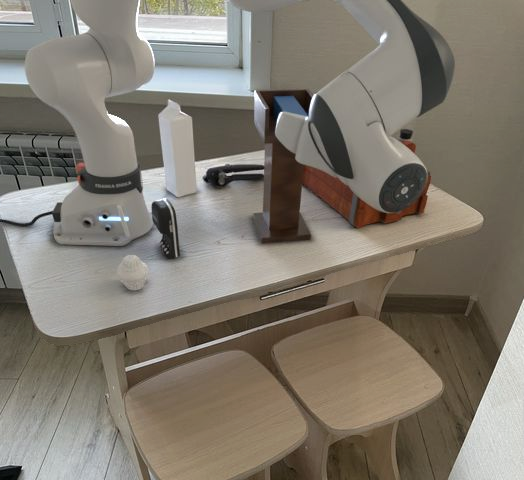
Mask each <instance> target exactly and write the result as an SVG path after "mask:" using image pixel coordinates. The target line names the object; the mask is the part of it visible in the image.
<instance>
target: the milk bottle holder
mask: <svg viewBox="0 0 524 480" xmlns="http://www.w3.org/2000/svg"><path fill="white" fill-rule="evenodd" d="M413 134H414V131H413V130H412V129H409V128H403V129H402V128H401V129H399V136H398V137H397V138H396V137H395V136H392V135H391V137H393V138H395V139H397V140H398V141H400V142H401V143H402V144H404V145H405V146H406V147H407V148H409V149H410V150H411V151H412V152H413V153H414V154H415V153H416V149H417V148H416V147H417V146H416V144H415V143H414V142H412V141H413V137H412V136H413ZM431 180H432V176H431V172H430V171H429V170H427V183H426V186H425V188H424V190H423V192H422V193H421V195H420V196H419V197H418V198H417V200H415V201H414V202H413V203H412V204H411V205H409V206H408V207H406V208H405V209H403V210H401V211H399V212H396V213H384V212H381V211H379V210H377V209H375V208H373V207H371V206H370V205H368V204H367V203H365V202H364V201H363V200H361V199H360V198H359V197H358V196H357V195H356V194H355V193H354V192H353V191H352V190H351V189H350V187H349V186H348V185H346V184H344V183H343V182H342V181H341V180H340V179H339V178H335V177H333V176H331V175H330V174H328V173H326V172H324V171H322V170H318V169H316V168H313V167H309V166H306V165H304V168H303V179H302V185H304V186H306V187H307V188H308V189H309V190H310V191H312V192H313V193H314V194H315V195H317V196H318V197H319V198H320V199H322V200H323V201H324V202H325V203H327V204H328V205H329V206H330V207H331V208H333V209H334V210H335V211H336V212H338V214H340V215H341V216H343V217H344V219H346V220H347V221H348V223H349V224H350V225H352V226H353V227H355V228H357V229H360V228H364V226H366V225H371V224H375V223H379V222H382V223H383V224H388V223H393V222H396V221H397V222H398V221H401V220H402V219H403V217H404V216H409V215H413V214H416V213H417V214H423V213H424V212H425V209H426V206H427V203H428V197H429V195H427V194H428V190H429V187H430V185H431Z"/></svg>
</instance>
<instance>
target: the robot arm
mask: <svg viewBox="0 0 524 480" xmlns="http://www.w3.org/2000/svg"><path fill="white" fill-rule="evenodd" d="M69 1H70V4H71V7H72V9H73V11H74V13H75V15H76V17H77V18H78V19H79V20H80V21H81V22H82V23H83V24H84V25H85V26H87V27H88V30H87V31H86V32H83V33H81V34H79V33H78V34H73V35H67V36H66V35H65V36H61V37H53V38H50V39H47V40H46V41H43V42H40V43H39V44H37V45H34V46H33V47H31V48H29V49H28V50H27V53H26V55H25V59H24V72H25V78H26V80H27V83H28V86H29V87H30V89H31V91H32V92H33V93H34V95H35V96H36V97H37V98H38V99H39V100H40V101H41V102H42V103H44V104H45V105H47V106H48V107H50V108H52V109H54V110H55V111H57V112H58V113H60V114H61V115H62V116H63V117H64V118H65V119H66V120H67V122H68V123H69V124H70V126H71V127H72V130H73V131H74V133H75V136H76V138H77V141H78V145H79V149H80V152H81V156H82V160H83V162H78V163H77V164H76V169H75V170H76V171H75V172H76V178H77V182H78V185H77V186H76V187H75V188H74V189H72V191H71V192H69V193H68V194H67V195H66V196H65V197H64V198H63V200H62V202H61V201H60V202H56V204H55V206H54V208H53V210H51V211H46V212H42V213H40V214H38V215H36V216H35V217H34V218H32V219H31V221H30V222H25V223H22V222H15V221H12V220H8V219H3V218H0V223H2V224H3V223H4V224H8V225H11V226H18V227H23V228H24V227H30V226H33V225H34V224H35V223H36V222H37V221H38V220H39V219H41V218H44V217H47V216H51V215H52V218H53V222H54V224H53V228H52V232H53V238H54V240H55V242H56V243H58V244H59V245H73V246H75V245H76V246H105V247H107V246H108V247H124V246H127V245H128V244H129V243H130V242H132V241H133V240H135V239H138V238H139V237H142V236H144V235H145V234H147V233H148V232H149V231H150V230H151V229H152V228H153V225H154V223H153V220H152V215H151V214H150V212H149V209H148V206H147V204H146V200H145V196H144V192H143V190H144V181H143V176H142V170H141V166H140V164H139V162H138V159H137V152H136V144H135V138H134V132H133V130H132V129H131V127H130V125H128V124H127V122H126V121H125V120H123V119H121V118H120V117H117V116H115V115H113V114H109V112H108V110H107V108H106V103H105V101H106V100H105V99H109V98H112V97H116V96H120V95H124V94H129V93H132V92H134V91H136V90H138V89H140V88H142V87H143V86H145V85H147V84H148V83H150V82H151V81H152V79H153V76H154V72H155V65H156V64H155V63H156V62H155V57H154V52H153V49H152V47H151V45H150V44H149V42H148V40H147V39H146V38H145V36H144V35H143V34H141V32H139V30H138V14H139V8H140V2H141V0H69ZM226 1H227V2H228V3H229V4H230V5H231V6H233V7H235V8H236V9H239V10H241V11H244V12H249V13H269V12H274V11H278V10H280V9H283V8H287V7H289V6H291V5H295V4H298V3H302V2H308V1H309V0H226ZM332 1H333V2H336V3H337V4H339V5H341V6H342V7H343V8H344V9H345V10H346V11H347V13H349V14H350V15H351V16H352V18H353V19H355V21H356V22H357V23H358V24H359V25H360V26H361V27H362V28H363V30H365V32H367V33H368V34H369V36H370V37H372V39H373V40H374V41H375V42H376V43H377V44H378V46H376V47H375V49H373V50H372V51H370V52H369V53H368V54H366V55H365V56H364V57H362V58H361V59H360V60H359V61H357V62H356V63H355V64H354V65H352V66H351V67H350V68H348V69H347V70H345V71H343V72H342V73H340V74H339V75H338V76H337V77H335V78H334V79H333V80H331V81H329V83H327V84H326V85H325V86H323V87H322V88H321V89H319V91H317V92H316V93H315V94H314V96H313V98H312V101H311V104H310V109H309V116H308V117H307V116H303V115H298V114H293V113H289V112H281V113H280V114H279V117H278V120H277V125H276V130H275V135H276V137H277V138H278V140H279V141H280V142H281V143H282V144H283V145H284V146H285V147H286V148H287V149H288V150H289V151H291V152H293V153H295V154H296V157H295V159H296V161H298V162H299V163H301V164H304V165H306V166H309V167H313V168H316V169H318V170H322V171H324V172H326V173H328V174H330V175H331V176H333V177H335V178H339V179H340V180H341V181H342V182H343V183H344V184H346V185H348V186H349V187H350V189H351V190H352V191H353V192H354V193H355V194H356V195H357V196H358V197H359V198H360V199H361V200H363V201H364V202H365V203H367V204H368V205H370V206H371V207H373V208H375V209H377V210H379V211H381V212H384V213H396V212H399V211H401V210H403V209H405V208H406V207H408V206H409V205H411V204H412V203H413V202H414V201H415V200H417V198H418V197H419V196H420V195H421V193H422V192H423V190H424V188H425V186H426V183H427V171H428V169H427V167H426V166H425V164H424V162H423V161H422V160H421V159H420V158H419V157H418V156H417V155H416V154H415V153H413V152H412V151H411V150H410V149H409V148H407V147H406V146H405V145H404V144H402V143H401V142H400V141H398V140H397V139H398V138H396V137H394V136H392V135H394V134H395V133H396V132H398V131H400V130H402V128H404V126H406V125H408V124H409V123H410V122H412V121H413V120H415V119H416V118H419V117H421V116H423V115H424V114H426V113H427V112H429V111H431V110H433V109H434V108H436V107H438V106H440V105H441V104H443V103H444V101H445V100H446V98H447V96H448V94H449V91H450V88H451V85H452V83H453V79H454V74H455V67H456V61H455V56H454V54H453V51H452V48H451V47H450V45H449V43H448V42H447V40H446V39H445V37H444V36H443V35H442V34H441V33H440V32H439V31H438V30H437V29H436V28H435V27H434V26H433V25H431V24H430V23H429V22H427V20H425V19H423V18H421V17H420V16H419V15H418V14H417V13H415V12H414V11H413V10H412V9H411V8H410V7H409V6H408V5H407V4H405V2H404V1H403V0H332ZM391 136H392V137H391ZM393 137H394V138H393ZM395 138H396V139H395Z"/></svg>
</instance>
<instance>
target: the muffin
mask: <svg viewBox="0 0 524 480" xmlns="http://www.w3.org/2000/svg"><path fill="white" fill-rule="evenodd" d="M149 273H150V271H149V267H148V265H147V264H146V263H145V262H143V261H141V259H140V258H139V256H137V255H135V254H128V255H125V256H123V258H122V259H121V263H120V264H119V265H118V266H117V268H116V276H117V278H118V279H119V281H120V282H121V283H122V284H123V286H125V287H126V288H127V289H128V290H130V291H139V290H141V289H142V288H143V287H144V285H145V283H146V281H147V279H148V275H149Z"/></svg>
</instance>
